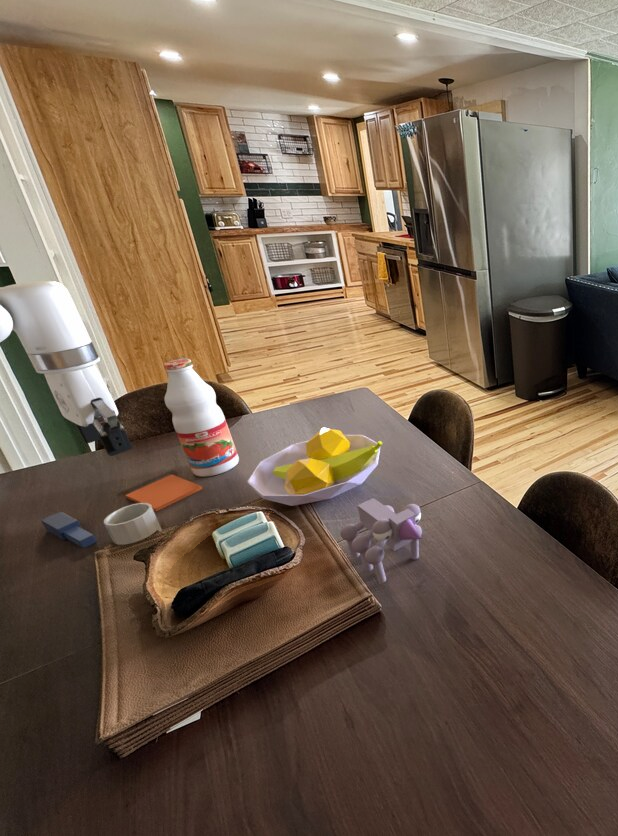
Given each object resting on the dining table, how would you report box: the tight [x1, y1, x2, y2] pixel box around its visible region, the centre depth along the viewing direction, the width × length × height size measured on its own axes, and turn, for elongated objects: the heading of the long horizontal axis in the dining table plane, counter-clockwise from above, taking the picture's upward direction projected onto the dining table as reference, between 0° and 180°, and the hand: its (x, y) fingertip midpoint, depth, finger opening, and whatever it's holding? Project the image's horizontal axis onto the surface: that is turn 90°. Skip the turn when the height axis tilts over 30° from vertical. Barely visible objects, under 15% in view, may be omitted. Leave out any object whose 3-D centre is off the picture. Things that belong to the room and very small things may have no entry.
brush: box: [40, 511, 98, 549], centre depth 94 cm, size 3×14×3 cm, turn 66°
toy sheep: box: [339, 497, 423, 585], centre depth 84 cm, size 20×11×14 cm, turn 53°
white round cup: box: [103, 503, 163, 546], centre depth 93 cm, size 7×7×6 cm
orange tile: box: [125, 474, 203, 512], centre depth 107 cm, size 9×12×1 cm
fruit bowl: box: [246, 427, 384, 507], centre depth 109 cm, size 28×27×11 cm
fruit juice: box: [163, 358, 240, 478], centre depth 112 cm, size 9×9×28 cm
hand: (109, 445), depth 86 cm, fingers open, 9 cm apart
